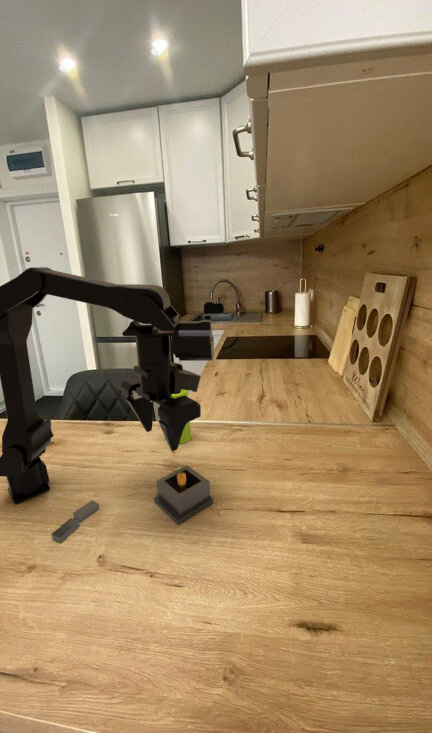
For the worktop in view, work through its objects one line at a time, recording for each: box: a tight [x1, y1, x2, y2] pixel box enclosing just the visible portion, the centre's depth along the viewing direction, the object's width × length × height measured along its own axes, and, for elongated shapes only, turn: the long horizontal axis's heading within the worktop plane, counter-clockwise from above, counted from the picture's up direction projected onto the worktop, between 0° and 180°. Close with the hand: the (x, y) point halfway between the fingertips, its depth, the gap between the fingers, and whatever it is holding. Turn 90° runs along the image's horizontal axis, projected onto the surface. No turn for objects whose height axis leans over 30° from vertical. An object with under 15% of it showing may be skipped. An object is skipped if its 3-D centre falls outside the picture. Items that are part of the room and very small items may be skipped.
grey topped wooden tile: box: [72, 499, 101, 523], centre depth 60 cm, size 4×2×1 cm, turn 144°
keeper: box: [153, 472, 215, 526], centre depth 61 cm, size 8×8×6 cm
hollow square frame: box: [156, 464, 211, 517], centre depth 61 cm, size 7×7×4 cm
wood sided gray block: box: [51, 517, 81, 544], centre depth 56 cm, size 4×2×1 cm, turn 156°
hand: (160, 440), depth 62 cm, fingers open, 9 cm apart
